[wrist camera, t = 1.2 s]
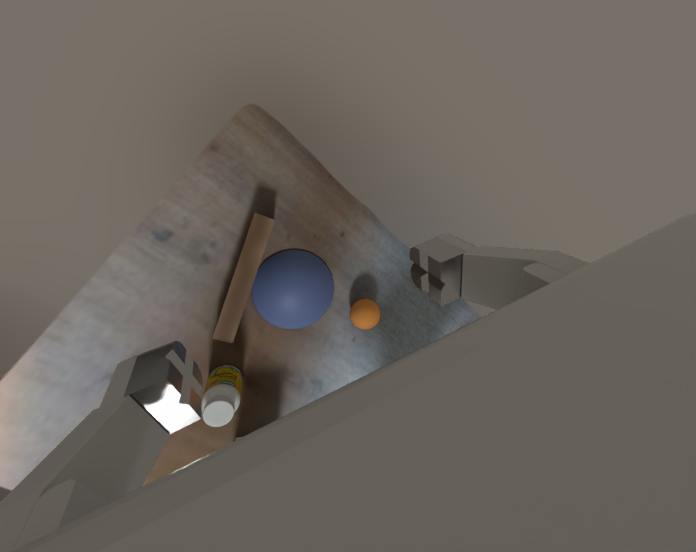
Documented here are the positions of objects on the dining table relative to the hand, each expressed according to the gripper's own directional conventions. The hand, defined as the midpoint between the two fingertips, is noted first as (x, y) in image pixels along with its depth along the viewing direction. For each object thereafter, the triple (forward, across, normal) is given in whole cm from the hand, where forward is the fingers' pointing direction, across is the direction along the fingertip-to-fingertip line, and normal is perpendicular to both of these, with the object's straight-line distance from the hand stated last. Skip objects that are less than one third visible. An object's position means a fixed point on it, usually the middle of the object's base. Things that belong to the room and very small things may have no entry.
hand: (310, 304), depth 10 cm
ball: (+29, +11, -27) cm, 41 cm away
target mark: (+34, +1, -20) cm, 40 cm away
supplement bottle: (+31, -15, -30) cm, 46 cm away
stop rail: (+36, -5, -16) cm, 39 cm away
